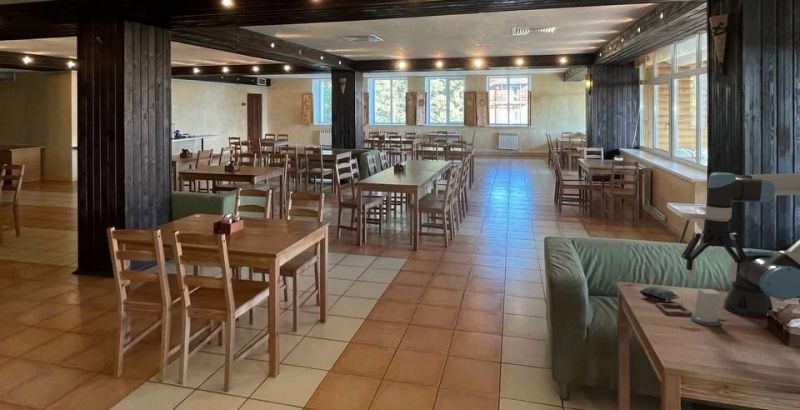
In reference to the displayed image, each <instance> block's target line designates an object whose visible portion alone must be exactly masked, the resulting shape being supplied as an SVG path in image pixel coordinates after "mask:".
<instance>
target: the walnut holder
mask: <svg viewBox="0 0 800 410" xmlns="http://www.w3.org/2000/svg"><path fill="white" fill-rule="evenodd" d="M655 307H656V308H657V309H658V310H660V311H661V313H663V314H664V315H666V316H685V317H686V316H687V317H691V315H693V312H692V311H690V310H689V309H688V308H687V307H685V305H683V304H682V303H669V302H655ZM666 308H670V309H671V308H674V309H675V308H676V309H677V308H678V309H679V310H680V311H678V310H668V309H666ZM682 310H683V311H682Z"/></svg>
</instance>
